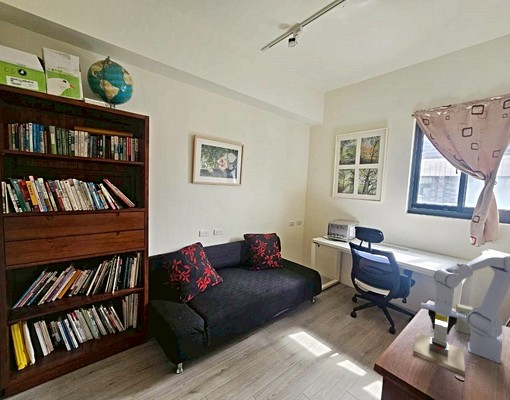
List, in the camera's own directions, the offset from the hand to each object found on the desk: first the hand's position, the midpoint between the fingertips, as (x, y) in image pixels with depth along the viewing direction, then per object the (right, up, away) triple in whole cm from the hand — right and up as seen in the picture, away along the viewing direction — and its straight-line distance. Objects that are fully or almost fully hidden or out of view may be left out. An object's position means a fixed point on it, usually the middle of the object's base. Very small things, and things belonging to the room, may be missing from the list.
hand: (440, 330), depth 97 cm
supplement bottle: (+16, -9, +21) cm, 28 cm away
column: (0, -5, 0) cm, 5 cm away
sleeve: (-1, -8, 0) cm, 8 cm away
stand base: (0, -10, +1) cm, 10 cm away
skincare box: (+25, -10, +17) cm, 32 cm away
